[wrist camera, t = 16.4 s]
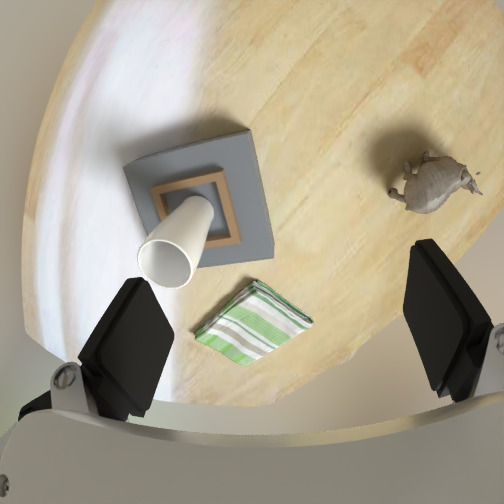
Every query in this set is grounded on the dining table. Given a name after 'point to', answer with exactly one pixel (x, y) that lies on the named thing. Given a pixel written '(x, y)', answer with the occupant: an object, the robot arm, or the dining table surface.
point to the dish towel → (253, 324)
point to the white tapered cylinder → (176, 244)
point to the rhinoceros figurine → (433, 183)
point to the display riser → (209, 194)
